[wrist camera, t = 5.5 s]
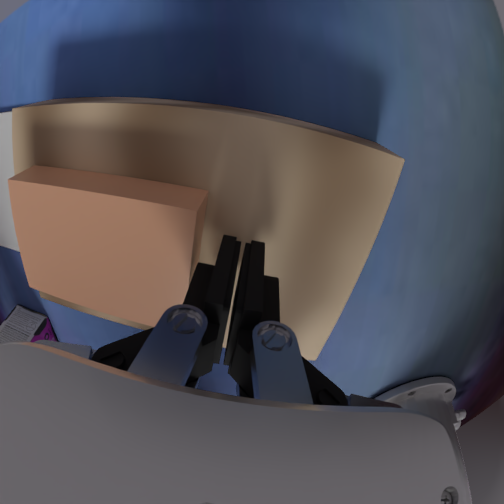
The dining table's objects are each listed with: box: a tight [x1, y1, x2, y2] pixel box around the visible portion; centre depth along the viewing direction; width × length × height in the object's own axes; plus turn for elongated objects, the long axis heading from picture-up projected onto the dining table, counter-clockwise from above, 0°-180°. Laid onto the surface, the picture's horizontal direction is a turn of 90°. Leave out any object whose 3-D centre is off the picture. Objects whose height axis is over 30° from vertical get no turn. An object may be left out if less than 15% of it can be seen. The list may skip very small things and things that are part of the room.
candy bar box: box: [0, 305, 58, 343], centre depth 17 cm, size 11×5×16 cm, turn 171°
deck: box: [12, 97, 405, 361], centre depth 14 cm, size 18×12×4 cm, turn 79°
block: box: [8, 165, 209, 327], centre depth 11 cm, size 9×6×2 cm, turn 78°
